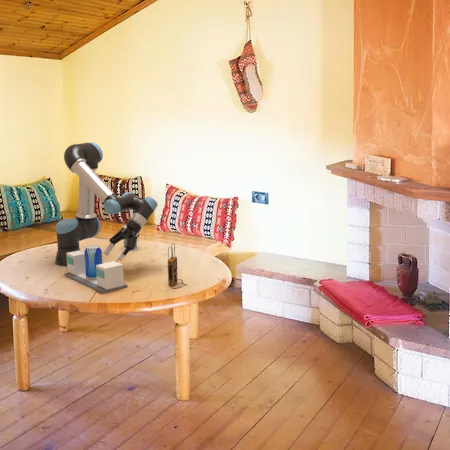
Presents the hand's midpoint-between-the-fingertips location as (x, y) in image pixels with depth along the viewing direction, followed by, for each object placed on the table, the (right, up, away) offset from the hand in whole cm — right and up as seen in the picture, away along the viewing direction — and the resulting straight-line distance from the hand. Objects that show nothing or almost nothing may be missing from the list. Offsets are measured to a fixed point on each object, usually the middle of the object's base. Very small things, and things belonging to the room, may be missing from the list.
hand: (112, 257), depth 328 cm
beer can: (-8, -10, -4) cm, 14 cm away
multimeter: (+35, -13, -10) cm, 39 cm away
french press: (+2, +2, +55) cm, 55 cm away
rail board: (-8, -12, -4) cm, 15 cm away
